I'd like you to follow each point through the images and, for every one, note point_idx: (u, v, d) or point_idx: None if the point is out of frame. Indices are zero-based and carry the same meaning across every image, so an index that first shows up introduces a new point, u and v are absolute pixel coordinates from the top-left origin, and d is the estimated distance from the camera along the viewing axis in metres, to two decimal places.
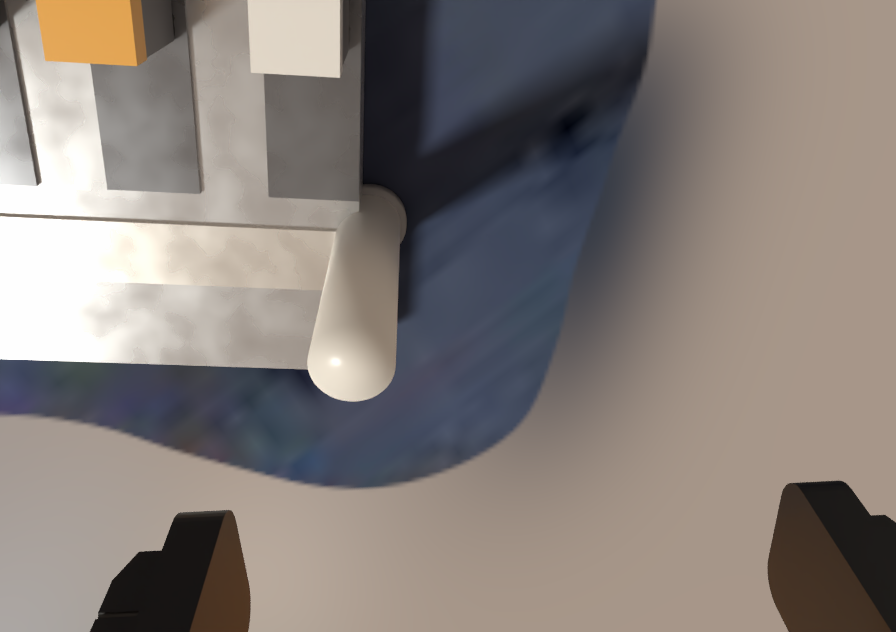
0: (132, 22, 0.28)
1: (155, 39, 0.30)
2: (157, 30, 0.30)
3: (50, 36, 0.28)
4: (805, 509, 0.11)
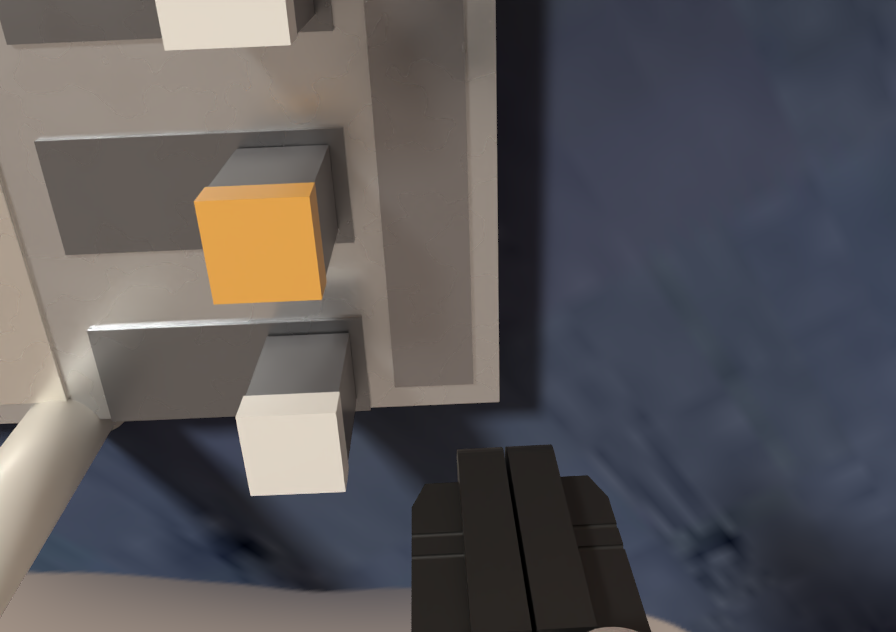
0: (264, 300, 0.23)
1: None
2: None
3: (226, 211, 0.22)
4: (509, 470, 0.12)
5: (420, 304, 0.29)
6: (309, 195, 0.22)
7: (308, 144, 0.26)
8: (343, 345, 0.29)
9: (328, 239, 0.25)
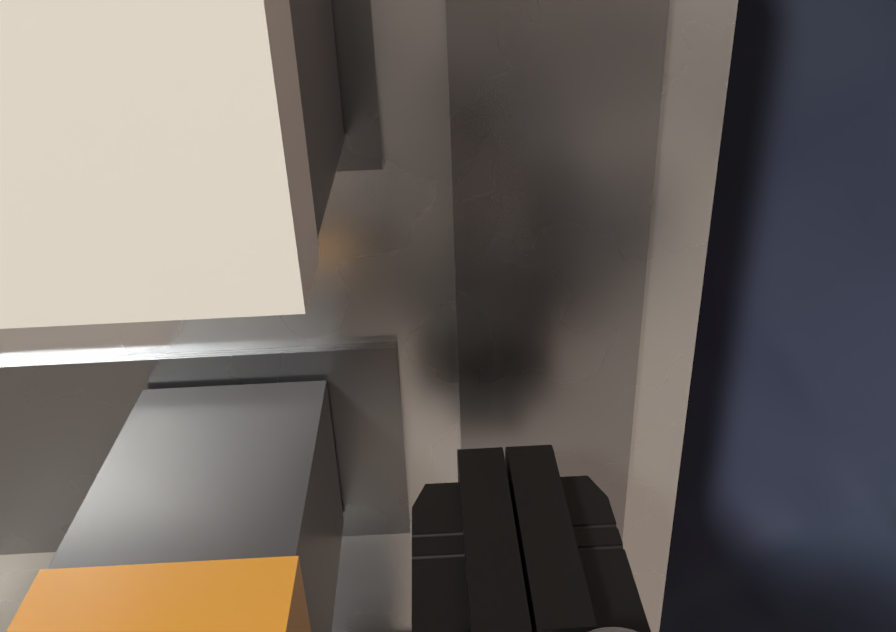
0: None
1: None
2: None
3: None
4: (509, 470, 0.12)
5: None
6: (285, 627, 0.09)
7: (327, 376, 0.13)
8: None
9: (328, 595, 0.12)
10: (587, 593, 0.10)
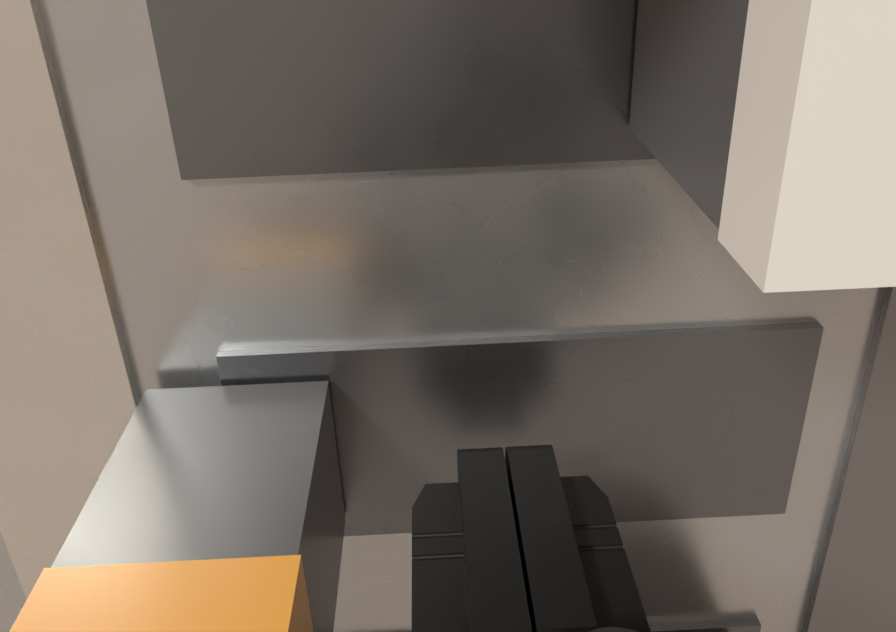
0: None
1: None
2: None
3: None
4: (509, 470, 0.12)
5: (869, 603, 0.16)
6: (287, 626, 0.09)
7: (749, 356, 0.14)
8: None
9: (329, 594, 0.12)
10: (587, 593, 0.10)
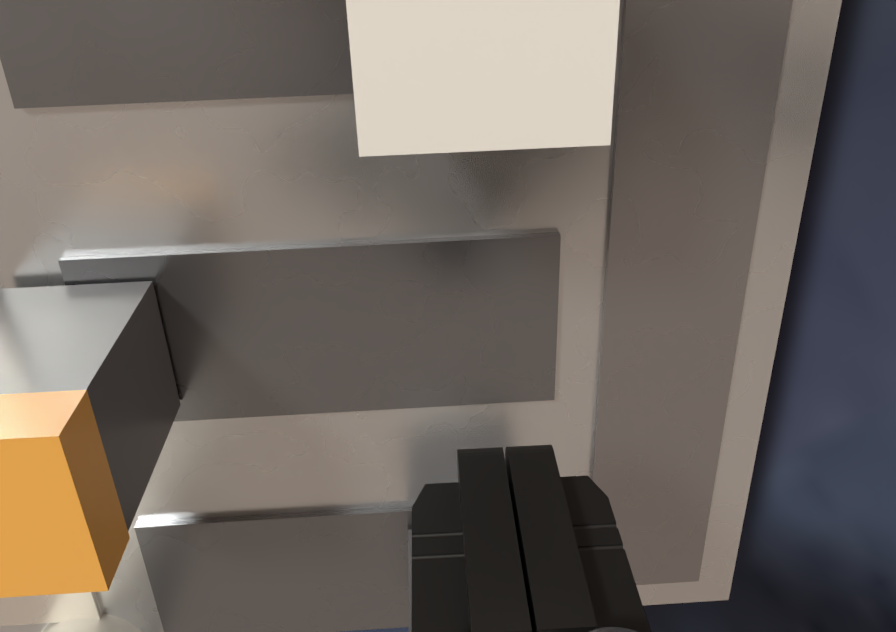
0: (5, 593, 0.13)
1: None
2: None
3: None
4: (509, 470, 0.12)
5: (640, 482, 0.20)
6: (61, 431, 0.12)
7: (503, 260, 0.16)
8: None
9: (144, 448, 0.15)
10: (587, 593, 0.10)
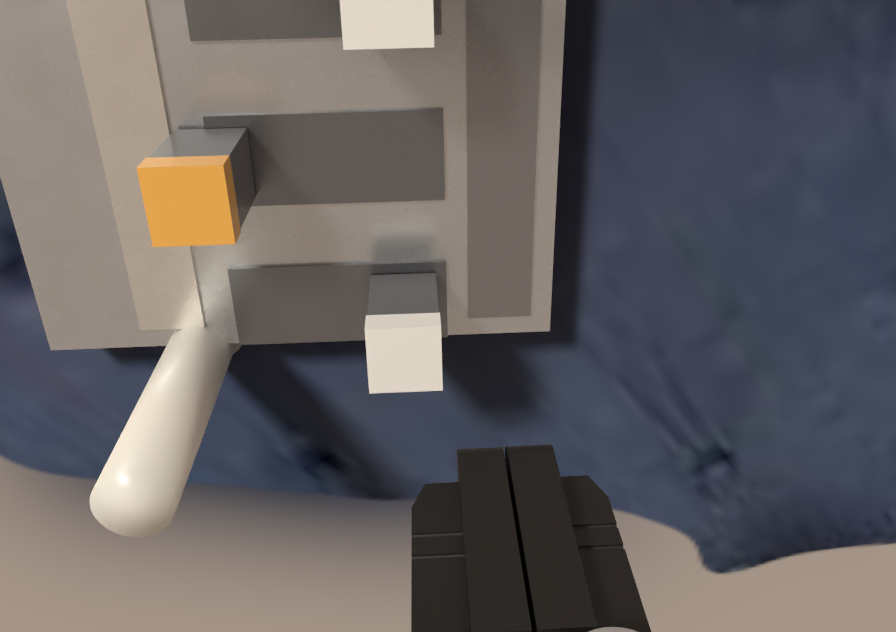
0: (191, 244, 0.31)
1: None
2: None
3: (161, 175, 0.29)
4: (509, 470, 0.12)
5: (492, 250, 0.37)
6: (223, 164, 0.29)
7: (415, 121, 0.34)
8: (433, 281, 0.37)
9: (244, 200, 0.33)
10: (587, 593, 0.10)
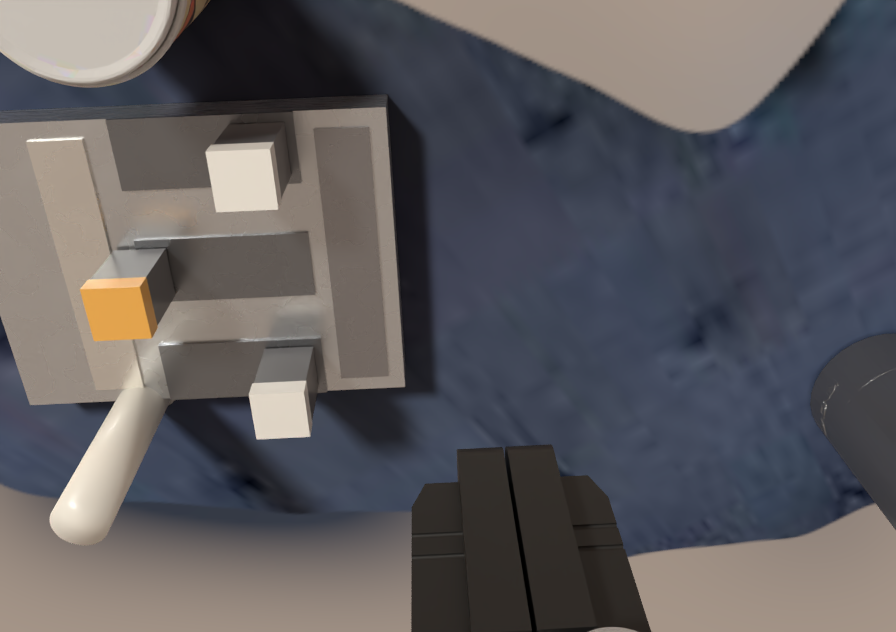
0: (121, 339, 0.44)
1: None
2: None
3: (97, 294, 0.42)
4: (509, 470, 0.12)
5: (354, 329, 0.50)
6: (140, 285, 0.42)
7: (288, 241, 0.47)
8: (309, 354, 0.49)
9: (162, 303, 0.46)
10: (587, 593, 0.10)
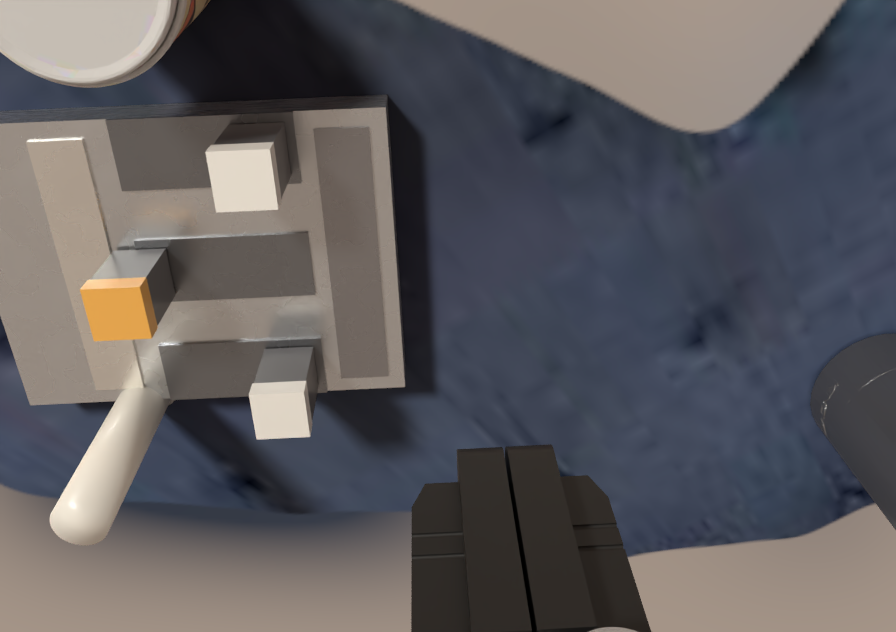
0: (121, 339, 0.44)
1: None
2: None
3: (97, 294, 0.42)
4: (509, 470, 0.12)
5: (354, 330, 0.50)
6: (140, 286, 0.42)
7: (288, 242, 0.47)
8: (309, 354, 0.49)
9: (162, 303, 0.46)
10: (587, 593, 0.10)
